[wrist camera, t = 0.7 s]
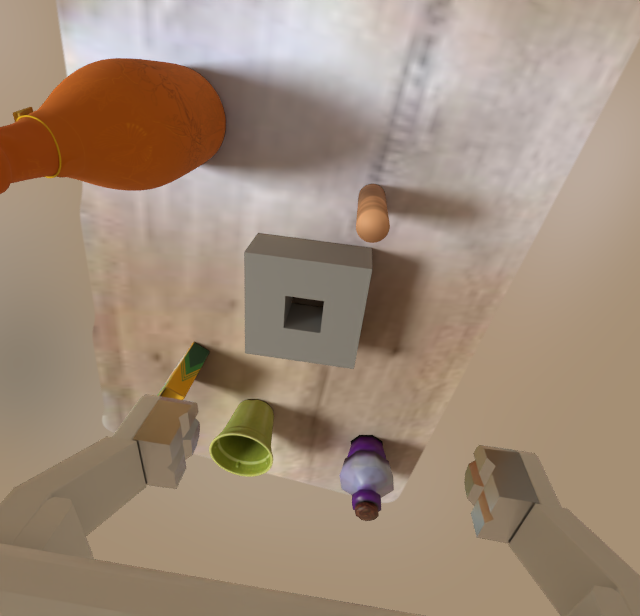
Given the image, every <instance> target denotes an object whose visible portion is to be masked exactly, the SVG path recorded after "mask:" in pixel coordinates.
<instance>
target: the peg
mask: <svg viewBox="0 0 640 616" xmlns="http://www.w3.org/2000/svg"><path fill="white" fill-rule="evenodd" d="M389 227H390V225H389V218H388V211H387V204H386V197H385V192H384V190H383V189H382V188H381V187H380V186H379V185H376V184H368V185H366V186H364V187H363V188H362V189H361V191H360V193H359V198H358V210H357V223H356V230H357V233H358V235H359V237H360V238H361V239H363V240H364V241H366V242H371V243H374V242H378V241H381V240H382V239H384V238H385V237H386V235H387V234H388V232H389Z"/></svg>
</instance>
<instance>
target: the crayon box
mask: <svg viewBox="0 0 640 616" xmlns="http://www.w3.org/2000/svg"><path fill="white" fill-rule="evenodd" d="M208 354H209V351H208V350H207V349H205V348H203V347H202V346H200V345H198V344H197V343H195V342H193V343H192V345H191V346H190V348H189V349H188V350H187V352H186V353H185V355H184V356H183V357H182V359H181V360H180V362H179V363H178V364H177V366H176V367H175V369H174V370H173V372H172V373H171V375H170V377H169V378H168V380H167V381H166V383H165V385H164V386H163V388H162V389H161V391H160V392H159V394H158V395H157V396H161V397H168V398H174V399H179V400H183V399H184V398H185V396H186V394H187V392H188V391H189V389H190V387H191V385H192V383H193V382H194V380H195V378H196V376H197V374H198V373H199V371H200V369H201V367H202V365H203V364H204V362H205V360H206V358H207V356H208Z"/></svg>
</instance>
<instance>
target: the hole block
mask: <svg viewBox="0 0 640 616" xmlns="http://www.w3.org/2000/svg"><path fill="white" fill-rule="evenodd" d="M244 261H245V353H247V354H254V355H261V356H268V357H274V358H281V359H288V360H295V361H302V362H309V363H316V364H323V365H330V366H336V367H343V368H350V369H354V365H355V360H356V355H357V349H358V344H359V338H360V333H361V328H362V322H363V317H364V311H365V306H366V301H367V295H368V290H369V284H370V279H371V274H372V248H367V247H359V246H352V245H344V244H337V243H329V242H321V241H314V240H306V239H299V238H291V237H283V236H276V235H268V234H261V233H258V234H257V235H256V237H255V238H254V239H253V241H252V242H251V244H250V245H249V246H248V248H247V249H246V251H245V252H244ZM292 297H298V298H305V299H312V300H319V301H324V306H323V307H316V306H309V305H302V304H295V303H292Z"/></svg>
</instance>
